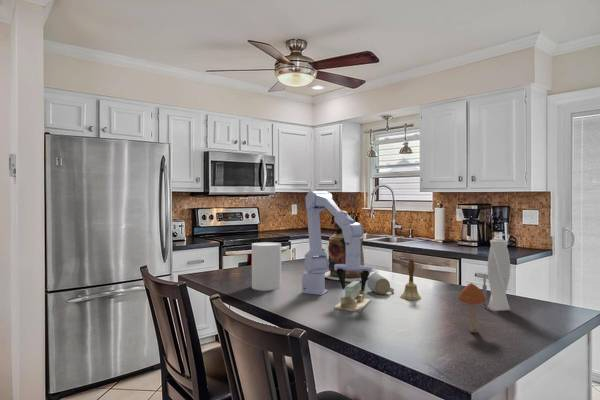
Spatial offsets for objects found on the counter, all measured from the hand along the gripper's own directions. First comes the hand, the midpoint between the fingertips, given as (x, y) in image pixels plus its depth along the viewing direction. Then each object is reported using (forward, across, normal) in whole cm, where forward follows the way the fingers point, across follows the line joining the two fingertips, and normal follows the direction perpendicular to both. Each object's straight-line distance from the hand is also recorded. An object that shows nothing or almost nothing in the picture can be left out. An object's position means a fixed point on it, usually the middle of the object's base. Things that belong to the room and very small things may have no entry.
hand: (353, 289), depth 153 cm
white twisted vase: (+6, +51, +16) cm, 54 cm away
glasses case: (+3, 0, 0) cm, 3 cm away
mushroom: (+6, +42, -15) cm, 45 cm away
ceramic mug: (+6, +6, +24) cm, 25 cm away
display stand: (+6, 0, 0) cm, 6 cm away
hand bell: (+6, +19, +20) cm, 28 cm away
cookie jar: (+6, -18, +51) cm, 54 cm away
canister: (+6, -45, +14) cm, 48 cm away
